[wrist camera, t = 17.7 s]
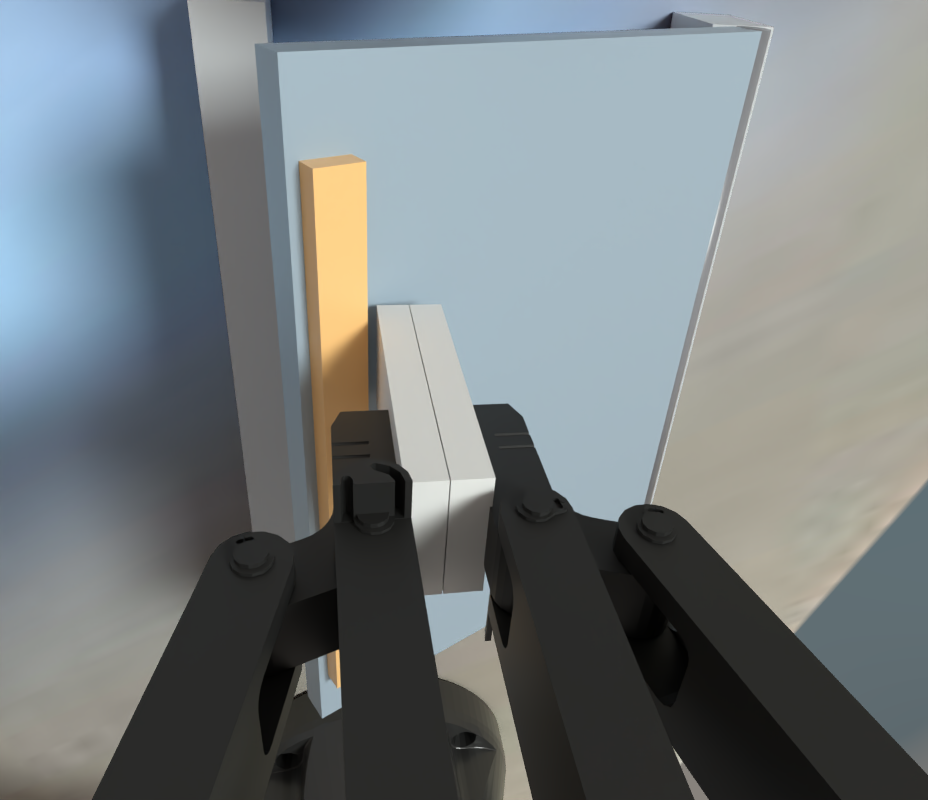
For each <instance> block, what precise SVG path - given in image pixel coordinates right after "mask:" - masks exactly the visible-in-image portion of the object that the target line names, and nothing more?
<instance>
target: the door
mask: <svg viewBox="0 0 928 800" xmlns="http://www.w3.org/2000/svg"><path fill="white" fill-rule="evenodd" d="M770 33H771V30H770V29H766V28H760V27H750V26H736V27H734V26H728V27H700V28H673V29H645V30H617V31H590V32H562V33H534V34H506V35H479V36H451V37H423V38H396V39H368V40H340V41H313V42H285V43H257V44H255V56H256V68H257V80H258V92H259V105H260V117H261V129H262V141H263V153H264V166H265V178H266V190H267V202H268V214H269V227H270V239H271V251H272V263H273V276H274V288H275V300H276V312H277V324H278V337H279V349H280V361H281V373H282V385H283V398H284V410H285V422H286V434H287V447H288V459H289V471H290V483H291V495H292V508H293V520H294V532H295V541H298V540H301V539H303V538H306V537H308V536H311V535H313V534H314V533H316V532H317V531H319V530H320V529H322V528H323V527H324V526H325V525H326V523H327V522H328V521H329V519H330V517H331V516H332V513H333V477H332V449H331V425H332V424H333V422H334V421H335V419H336V418H337V416H338V415H339V413H340V412H345V411H370V410H378V409H377V402H376V388H377V305H409V307H410V305H424V304H441V306H442V309H443V312H444V315H445V318H446V322H447V325H448V328H449V331H450V334H451V337H452V341H453V344H454V347H455V350H456V353H457V357H458V360H459V363H460V366H461V369H462V372H463V376H464V379H465V382H466V385H467V388H468V392H469V395H470V398H471V401H472V404H473V405H481V404H506V403H508V404H509V405H510V406H511V407H513V408H514V409H515V410H516V411H517V412H518V413H519V414H520V415H522V416H523V418H524V421H525V423H526V426H527V428H528V431H529V435H530V436H531V438H532V441H533V443H534V448H536V451H537V453H538V455H539V458H540V460H541V463H542V465H543V468H544V470H545V473H546V475H547V478H548V480H549V483H550V485H551V488H552V490H554V491H556V492H558V493H559V494H561V495H562V496H563V497H565V498H566V499H567V500H568V502H569V503H570V505H571V506H572V507H573V510H574V511H575V512H577V513H580V514H582V515H585V516H589V517H593V518H598V519H604V520H610V521H616V522H618V519H619V517H620V516H621V514H622V513H623V511H624V510H626V509H628V508H630V507H632V506H634V505H642V504H650V503H651V499H652V495H653V491H654V488H655V484H656V480H657V476H658V472H659V468H660V464H661V460H662V456H663V452H664V448H665V444H666V441H667V437H668V433H669V429H670V425H671V421H672V417H673V413H674V409H675V405H676V401H677V397H678V394H679V390H680V386H681V382H682V378H683V374H684V370H685V366H686V362H687V358H688V354H689V350H690V347H691V343H692V339H693V335H694V331H695V327H696V323H697V319H698V315H699V311H700V307H701V303H702V300H703V296H704V292H705V288H706V284H707V280H708V276H709V272H710V268H711V264H712V260H713V256H714V253H715V249H716V245H717V241H718V237H719V233H720V229H721V225H722V221H723V217H724V213H725V209H726V206H727V202H728V198H729V194H730V190H731V186H732V182H733V178H734V174H735V170H736V166H737V162H738V159H739V155H740V151H741V147H742V143H743V139H744V135H745V131H746V127H747V123H748V119H749V115H750V112H751V108H752V104H753V100H754V96H755V92H756V88H757V84H758V80H759V76H760V72H761V68H762V65H763V61H764V57H765V53H766V49H767V45H768V41H769V37H770ZM489 594H490V588H489V584H488V581H487V577H486V573H485V577H484V586H483V591H472V592H460V593H448V594H443V590H442V594H436V595H424V596H425V602H426V608H427V614H428V620H429V626H430V632H431V638H432V644H433V650H434V655H436V654H437V653H439V652H441V651H443V650H445V649H446V648H448V647H450V646H452V645H453V644H455V643H457V642H459V641H460V640H462V639H464V638H466V637H468V636H469V635H471V634H473V633H475V632H476V631H478V630H480V629H482V628H484V627H485V626H486V619H487V611H488V602H489ZM305 666H306V679H307V691H308V697H309V699H310V700H311V702H312V704H313V705H314V707H315V708H316V710H317V711H318V713H319V714H320V716H321V718H324V717H326V716H328V715H329V714H331V713H333V712H335V711H336V710H338V709H340V708H342V705H341V682H340V658H339V650H336V651H334V652H331V653H329V654H326V655H324V656H321V657H319V658H316V659H313V660H311V661H308V662H306V663H305Z"/></svg>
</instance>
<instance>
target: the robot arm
mask: <svg viewBox="0 0 928 800" xmlns="http://www.w3.org/2000/svg"><path fill="white" fill-rule="evenodd" d="M376 402H377V409H378V410H370V411H345V412H340V413H339V415H338V416H337V418H336V419H335V421H334V422H333V424H332V425H331V449H332V477H333V513H332V516H331V517H330V519H329V521H328V522H327V523H326V525H325V526H324V527H323V528H322V529H320V530H319V531H317V532H316V533H314V534H313V535H311V536H308V537H306V538H303V539H301V540H298V541H295V542H292V543H289V542H288V541H286V540H285V539H283V538H282V537H280V536H279V535H276V534H272V533H268V532H264V531H261V532H246V533H243V534H240V535H237V536H233V537H231V538H230V539H228V540H227V541H225V542H223V543H222V544H220V545H219V546H218V547H217V549H216V550H215V551H214V553H213V554H212V555H211V557H210V559H209V561H208V563H207V565H206V567H205V569H204V571H203V573H202V575H201V577H200V579H199V581H198V583H197V585H196V587H195V589H194V592H193V594H192V596H191V598H190V600H189V602H188V604H187V606H186V608H185V610H184V612H183V614H182V616H181V618H180V620H179V622H178V624H177V626H176V628H175V630H174V633H173V635H172V637H171V639H170V641H169V643H168V645H167V647H166V649H165V651H164V653H163V655H162V657H161V659H160V661H159V663H158V665H157V667H156V669H155V671H154V674H153V676H152V678H151V680H150V682H149V684H148V686H147V688H146V690H145V692H144V694H143V696H142V698H141V700H140V702H139V704H138V706H137V708H136V710H135V712H134V715H133V717H132V719H131V721H130V723H129V725H128V727H127V729H126V731H125V733H124V735H123V737H122V739H121V741H120V743H119V745H118V747H117V749H116V751H115V753H114V756H113V758H112V760H111V762H110V764H109V766H108V768H107V770H106V772H105V774H104V776H103V778H102V780H101V782H100V784H99V786H98V788H97V790H96V792H95V794H94V797H93V799H92V800H503V795H504V784H505V774H506V764H505V755H504V750H503V745H502V741H501V736H500V732H499V728H498V724H497V720H496V718H495V716H494V714H493V712H492V711H491V709H490V708H489V707H488V706H487V704H486V703H485V702H484V701H483V700H481V699H480V698H479V697H478V696H476V695H475V694H473V693H472V692H470V691H468V690H467V689H465V688H463V687H460V686H458V685H456V684H453V683H450V682H447V681H444V680H440V679H438V675H437V669H436V663H435V656H434V650H433V644H432V638H431V632H430V626H429V620H428V614H427V608H426V602H425V596H424V595H436V594H442V590H443V594H448V593H460V592H472V591H483V586H484V577H485V573H486V577H487V581H488V584H489V588H490V594H489V602H488V611H487V619H486V627H485V641H491V635H492V631H493V635H494V639H495V643H496V648H497V652H498V656H499V660H500V664H501V669H502V673H503V677H504V681H505V685H506V689H507V694H508V698H509V702H510V706H511V710H512V715H513V719H514V723H515V727H516V731H517V736H518V740H519V744H520V748H521V752H522V756H523V761H524V765H525V769H526V773H527V777H528V782H529V786H530V790H531V794H532V798H533V800H694V797H693V795H692V793H691V790H690V788H689V785H688V783H687V781H686V778H685V776H684V773H683V771H682V769H681V766H680V764H679V762H678V759H677V757H676V754H675V752H674V750H673V748H674V749H675V751H676V752H677V754H678V755H679V757H680V758H681V760H682V761H683V762H684V764H685V765H686V767H687V768H688V770H689V771H690V773H691V774H692V775H693V777H694V778H695V780H696V781H697V783H698V784H699V786H700V787H701V789H702V790H703V792H704V793H705V795H706V796H707V797H708V799H709V800H928V775H927V774H926V773H925V772H924V771H923V770H922V769H921V767H920V766H918V764H917V763H916V762H915V761H914V760H913V759H912V758H911V757H910V756H909V755H908V754H907V753H906V752H905V751H904V749H903V748H901V746H900V745H899V744H898V743H897V742H896V741H895V740H894V739H893V738H892V737H891V736H890V735H889V734H888V733H887V732H886V731H885V729H884V728H882V726H881V725H880V724H879V723H878V722H877V721H876V720H875V719H874V718H873V717H872V716H871V715H870V714H869V713H868V711H867V710H866V709H865V708H864V707H863V706H862V705H861V704H860V703H859V702H858V701H857V700H856V699H855V698H854V697H853V696H852V695H851V694H850V693H849V691H848V690H847V689H846V688H845V687H844V686H843V685H842V684H841V683H840V682H839V681H838V680H837V679H836V678H835V677H834V676H833V675H832V674H831V672H830V671H829V670H828V669H827V668H826V667H825V666H824V665H823V664H822V663H821V662H820V661H819V660H818V659H817V658H816V657H815V656H814V654H813V653H812V652H811V651H810V650H809V649H808V648H807V647H806V646H805V645H804V644H803V643H802V642H801V641H800V640H799V639H798V638H797V637H796V636H795V634H794V633H793V632H792V631H791V630H790V629H789V628H788V627H787V626H786V625H785V624H784V623H783V622H782V621H781V620H780V619H779V618H778V617H777V615H776V614H775V613H774V612H773V611H772V610H771V609H770V608H769V607H768V606H767V605H766V604H765V603H764V602H763V601H762V600H761V599H760V598H759V596H758V595H757V594H756V593H755V592H754V591H753V590H752V589H751V588H750V587H749V586H748V585H747V584H746V583H745V582H744V581H743V580H742V579H741V577H740V576H739V575H738V574H737V573H736V572H735V571H734V570H733V569H732V568H731V567H730V566H729V565H728V564H727V563H726V562H725V561H724V560H723V558H722V557H721V556H720V555H719V554H718V553H717V552H716V551H715V550H714V549H713V548H712V547H711V546H710V545H709V544H708V543H707V542H706V541H705V539H704V538H703V537H702V536H701V535H700V534H699V533H698V532H697V531H696V530H695V529H694V528H693V527H692V526H691V525H690V524H689V523H688V522H687V521H686V520H685V519H684V518H683V517H681V516H680V515H679V514H677V513H676V512H674V511H672V510H669V509H667V508H665V507H662V506H657V505H651V504H642V505H634V506H632V507H630V508H628V509H626V510H624V511H623V513H622V514H621V516H620V517H619V519H618V522H616V521H610V520H604V519H598V518H593V517H589V516H585V515H582V514H580V513H577V512H575V511H574V510H573V507H572V506H571V505H570V503H569V502H568V500H567V499H566V498H565V497H563V496H562V495H561V494H559V493H558V492H556V491H554V490H552V488H551V485H550V483H549V480H548V478H547V475H546V473H545V470H544V468H543V465H542V463H541V460H540V458H539V455H538V453H537V451H536V448H534V443H533V441H532V438H531V436H530V435H529V431H528V428H527V426H526V423H525V421H524V418H523V416H522V415H520V414H519V413H518V412H517V411H516V410H515V409H514V408H513V407H511V406H510V405H509V404H508V403H506V404H481V405H473V404H472V401H471V398H470V395H469V392H468V388H467V385H466V382H465V379H464V376H463V372H462V369H461V366H460V363H459V360H458V357H457V353H456V350H455V347H454V344H453V341H452V337H451V334H450V331H449V328H448V325H447V322H446V318H445V315H444V312H443V309H442V306H441V304H424V305H410V307H409V305H377V388H376ZM336 650H339V658H340V682H341V705H342V708H340V709H338V710H336V711H335V712H333V713H331V714H329V715H328V716H326V717H324V718H321V716H320V714H319V713H318V711H317V710H316V708H315V707H314V705H313V704H312V702H311V700H310V699H309V697H308V693H307V694H304V695H302V696H300V697H298V698H296V699H295V700H293V698H294V694H295V691H296V687H297V684H298V681H299V677H300V674H301V670H302V664H303V663H306V662H308V661H311V660H313V659H316V658H319V657H321V656H324V655H326V654H329V653H331V652H334V651H336ZM672 746H673V747H672Z"/></svg>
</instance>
